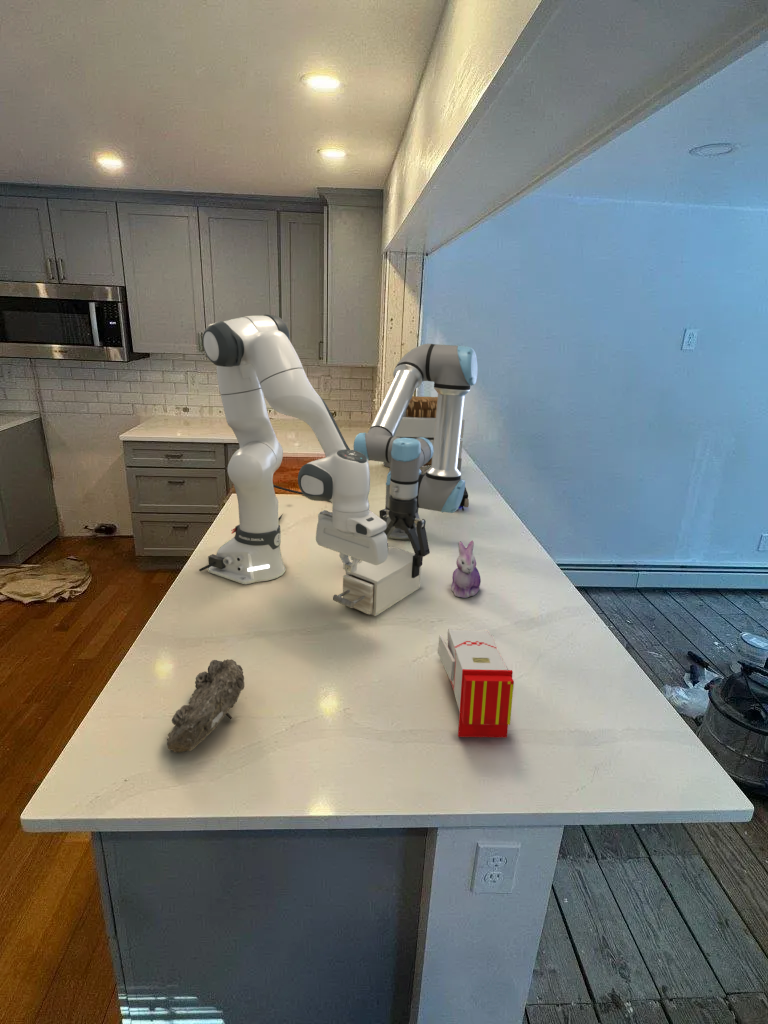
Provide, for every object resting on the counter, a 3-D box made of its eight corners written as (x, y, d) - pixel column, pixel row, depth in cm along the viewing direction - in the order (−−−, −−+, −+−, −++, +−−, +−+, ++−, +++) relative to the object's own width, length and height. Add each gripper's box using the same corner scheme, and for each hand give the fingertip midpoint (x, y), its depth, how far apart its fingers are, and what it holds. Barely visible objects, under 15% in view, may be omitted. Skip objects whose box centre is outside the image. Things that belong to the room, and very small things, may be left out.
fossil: (192, 660, 117) (244, 628, 112) (224, 691, 120) (276, 661, 115) (142, 746, 98) (202, 712, 93) (182, 779, 101) (242, 748, 96)
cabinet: (375, 616, 146) (377, 581, 143) (345, 603, 152) (345, 569, 148) (419, 588, 162) (422, 555, 158) (390, 577, 167) (392, 546, 164)
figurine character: (468, 516, 224) (463, 500, 237) (471, 498, 221) (465, 483, 234) (452, 515, 224) (447, 499, 237) (453, 498, 220) (449, 482, 234)
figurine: (461, 602, 155) (467, 551, 150) (441, 586, 163) (445, 537, 158) (489, 595, 159) (495, 546, 154) (468, 580, 167) (473, 533, 162)
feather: (290, 508, 223) (292, 504, 223) (272, 532, 197) (275, 527, 196) (286, 505, 223) (289, 501, 223) (268, 529, 197) (271, 525, 196)
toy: (488, 613, 130) (523, 677, 101) (484, 667, 133) (517, 744, 104) (435, 612, 130) (455, 676, 101) (432, 666, 133) (451, 743, 103)
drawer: (355, 624, 140) (355, 595, 137) (327, 612, 145) (327, 583, 142) (412, 588, 159) (414, 561, 157) (386, 578, 164) (387, 552, 162)
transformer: (382, 463, 289) (386, 382, 275) (445, 464, 293) (451, 384, 279) (390, 482, 257) (394, 392, 243) (460, 483, 261) (468, 394, 247)
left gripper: (309, 511, 139) (310, 562, 144) (376, 532, 128) (374, 587, 133) (327, 505, 144) (327, 555, 149) (392, 524, 133) (390, 577, 137)
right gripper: (361, 490, 156) (359, 563, 164) (432, 509, 144) (425, 587, 151) (378, 484, 162) (375, 555, 169) (447, 502, 149) (440, 578, 157)
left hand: (349, 570), depth 140 cm, fingers closed
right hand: (399, 570), depth 160 cm, fingers closed on cabinet, 10 cm apart
